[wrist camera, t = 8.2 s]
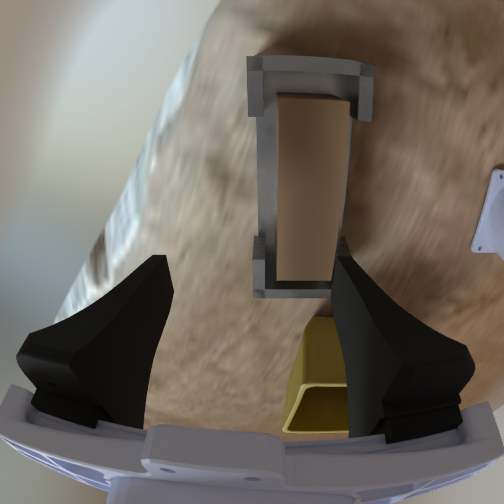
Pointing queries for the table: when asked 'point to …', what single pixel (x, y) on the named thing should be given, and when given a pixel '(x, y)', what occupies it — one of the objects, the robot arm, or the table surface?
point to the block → (309, 183)
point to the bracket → (265, 110)
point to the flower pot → (317, 382)
